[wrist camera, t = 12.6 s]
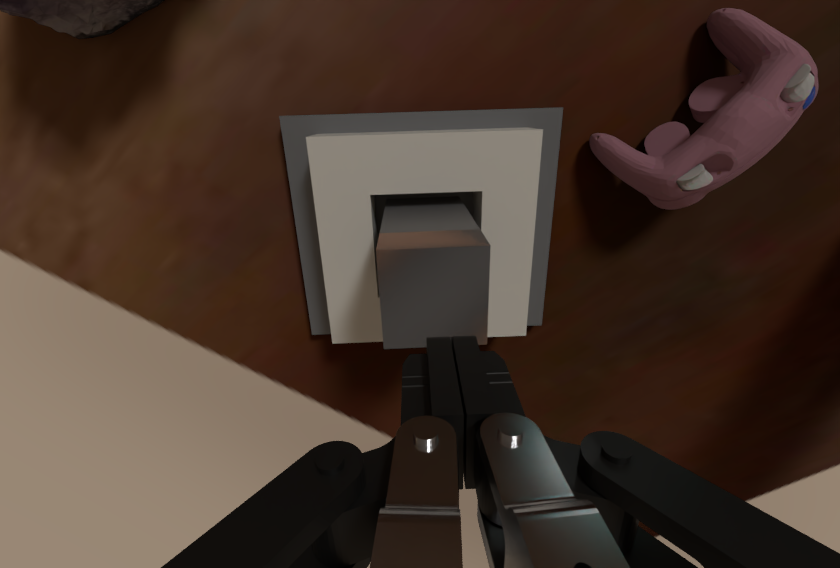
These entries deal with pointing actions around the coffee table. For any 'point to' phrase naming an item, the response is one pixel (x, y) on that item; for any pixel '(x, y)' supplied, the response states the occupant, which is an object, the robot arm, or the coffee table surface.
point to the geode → (79, 14)
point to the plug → (431, 272)
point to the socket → (420, 178)
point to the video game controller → (721, 116)
